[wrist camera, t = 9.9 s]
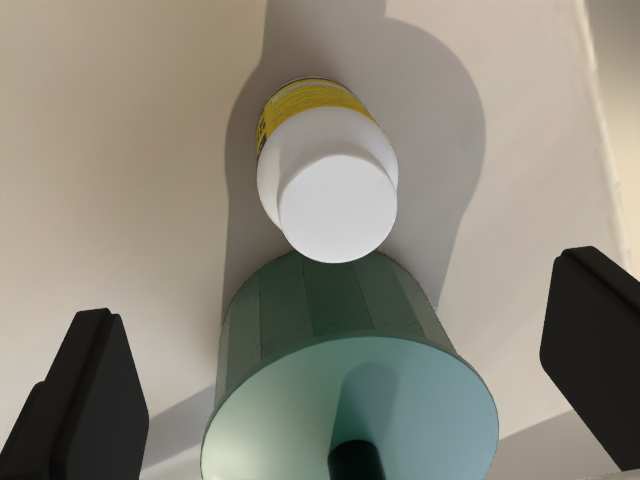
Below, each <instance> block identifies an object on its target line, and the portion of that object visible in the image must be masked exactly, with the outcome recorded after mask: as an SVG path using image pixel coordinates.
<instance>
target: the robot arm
mask: <svg viewBox="0 0 640 480" xmlns="http://www.w3.org/2000/svg"><path fill="white" fill-rule="evenodd" d="M539 356H540V362H541V365H542V367H543V369H544V370H545V372H546V373H547V374H548V376H549V377H550V378H551V380H552V381H553V382H554V384H555V385H556V386H557V387H558V389H559V390H560V391H561V393H562V394H563V395H564V397H565V398H566V399H567V401H568V402H569V403H570V404H571V406H572V407H573V408H574V410H575V411H576V412H577V414H578V415H579V416H580V418H581V419H582V420H583V421H584V423H585V424H586V425H587V427H588V428H589V429H590V431H591V432H592V433H593V435H594V436H595V437H596V438H597V440H598V441H599V442H600V443H601V445H602V446H603V447H604V449H605V450H606V452H607V453H608V454H609V455H610V457H611V458H612V459H613V461H614V462H615V463H616V465H617V466H618V467H619V468H620V469H621V471H622V472H617V473H611V474H605V475H599V476H593V477H587V478H581V479H574V480H640V282H639V281H638V280H636V279H635V278H634V277H633V276H631V275H630V274H629V273H627V272H626V271H625V270H624V269H622V268H621V267H620V266H618V265H617V264H616V263H615V262H613V261H612V260H611V259H609V258H608V257H607V256H606V255H604V254H603V253H602V252H600V251H599V250H598V249H597V248H595V247H593V246H586V247H578V248H570V249H565V250H564V251H563V252H562V253H561V255H560V256H559V257H557V258H556V259H555V260H554V264H553V270H552V277H551V283H550V289H549V296H548V302H547V308H546V315H545V321H544V327H543V334H542V340H541V346H540V354H539ZM148 429H149V414H148V409H147V406H146V402H145V399H144V395H143V392H142V388H141V385H140V381H139V378H138V374H137V371H136V367H135V364H134V360H133V357H132V353H131V350H130V346H129V343H128V339H127V336H126V333H125V329H124V326H123V322H122V319H121V316H120V315H119V314H118V313H117V314H111V312H110V310H109V309H108V308H101V309H93V310H85V311H79V312H77V313H76V315H75V317H74V319H73V321H72V323H71V325H70V327H69V329H68V331H67V334H66V336H65V338H64V340H63V342H62V344H61V346H60V349H59V351H58V353H57V355H56V357H55V359H54V361H53V364H52V366H51V368H50V370H49V372H48V374H47V376H46V379H45V381H42V382H39V383H37V384H35V386H34V387H33V389H32V390H31V392H30V394H29V396H28V398H27V400H26V402H25V404H24V406H23V408H22V410H21V413H20V415H19V417H18V419H17V421H16V423H15V425H14V427H13V429H12V431H11V433H10V435H9V437H8V439H7V441H6V443H5V445H4V447H3V449H2V451H1V453H0V480H139V476H140V471H141V466H142V460H143V455H144V450H145V445H146V440H147V434H148Z"/></svg>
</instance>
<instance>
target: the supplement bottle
mask: <svg viewBox="0 0 640 480" xmlns="http://www.w3.org/2000/svg"><path fill="white" fill-rule="evenodd" d="M256 160H257V161H256V182H257V187H258V192H259V197H260V200H261V202H262V205H263V207H264V209H265V211H266V213H267V214H268V216H269V217H270V219H271V220H272V221H273V222H274V223H275V224H276V225H277V226H278V227H279V228H280V229H281V230H282V231H283V233H284V235H285V237H286V238H287V240H288V241H289V243H290V244H291V245H292V246H293V247H294V248H295V249H296V250H297V251H299V252H300V253H302V254H303V255H305V256H307V257H309V258H311V259H313V260H317V261H320V262H326V263H343V262H348V261H352V260H355V259H358V258H361V257H363V256H365V255H367V254H368V253H370V252H371V251H373V250H374V249H375V248H377V247H378V246H379V245H380V244H381V243H382V242H383V240H384V239H385V238H386V237H387V235H388V234H389V232H390V230H391V228H392V226H393V224H394V221H395V218H396V214H397V195H396V190H397V184H398V164H397V159H396V156H395V152H394V150H393V147H392V145H391V143H390V142H389V140H388V138H387V136H386V135H385V133H384V132H383V130H382V129H381V128H380V127H379V125H378V124H377V123H376V122H375V120H374V119H373V118H372V116H371V115H370V114H369V112H368V111H367V110H366V109H365V107H364V106H363V105H362V103H361V102H360V101H359V100H358V98H357V97H356V96H355V95H354V94H353V93H352V92H351V91H350V90H349V89H348V88H346V87H345V86H343V85H342V84H340V83H338V82H336V81H334V80H332V79H329V78H324V77H319V76H308V77H301V78H297V79H294V80H292V81H290V82H287V83H285V84H284V85H282V86H281V87H279V88H278V89H277V90H275V91H274V92H273V93H272V94H271V95H270V97H269V98H268V99H267V100H266V102H265V103H264V105H263V107H262V109H261V112H260V114H259V118H258V122H257V128H256Z"/></svg>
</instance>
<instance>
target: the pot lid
mask: <svg viewBox="0 0 640 480" xmlns="http://www.w3.org/2000/svg"><path fill="white" fill-rule="evenodd" d="M498 438H499V421H498V414H497V409H496V406H495V403H494V400H493V397H492V395H491V393H490V391H489V390H488V388H487V386H486V384H485V383H484V381H483V379H482V378H481V376H480V375H479V374H478V373H477V371H476V370H475V369H474V368H473V367H472V366H471V365H470V364H469V363H468V362H467V361H466V360H464V359H463V358H462V357H461V356H460V355H458V354H457V353H455V352H453V351H452V350H450V349H449V348H447V347H445V346H443V345H441V344H439V343H436V342H434V341H432V340H430V339H427V338H424V337H420V336H417V335H413V334H410V333H404V332H398V331H392V330H377V329H362V330H346V331H341V332H335V333H329V334H324V335H320V336H317V337H313V338H310V339H306V340H303V341H301V342H298V343H296V344H293V345H291V346H288V347H286V348H283V349H282V350H280V351H278V352H276V353H274V354H272V355H270V356H269V357H267V358H265V359H263V360H262V361H261V362H259V363H258V364H256V365H255V366H253V367H252V368H251V369H249V370H248V371H247V372H246V373H244V374H243V375H242V376H241V377H240V378H239V379H238V380H237V381H236V382H234V383H233V385H232V386H231V387H230V388H229V389H228V390H227V392H226V393H225V394H224V395H223V396H222V398H221V399H220V401H219V402H218V404H217V405H216V407H215V409H214V410H213V412H212V414H211V416H210V418H209V421H208V423H207V425H206V428H205V432H204V436H203V440H202V446H201V461H200V466H201V474H202V480H483V478H484V477H485V475H486V473H487V471H488V470H489V468H490V466H491V463H492V461H493V458H494V455H495V453H496V448H497V443H498Z"/></svg>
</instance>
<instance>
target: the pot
mask: <svg viewBox="0 0 640 480" xmlns="http://www.w3.org/2000/svg"><path fill="white" fill-rule="evenodd" d="M362 329H377V330H392V331H398V332H404V333H410V334H413V335H417V336H420V337H424V338H427V339H430V340H432V341H434V342H436V343H439V344H441V345H443V346H445V347H447V348H449V349H450V350H452V351H453V352H455V353H457V352H456V350H455V349H454V347H453V345H452V343H451V341H450V339H449V338H448V336H447V334H446V332H445V330H444V328H443V327H442V325H441V323H440V321H439V319H438V317H437V316H436V314H435V312H434V310H433V308H432V306H431V305H430V303H429V301H428V299H427V297H426V295H425V294H424V292H423V290H422V288H421V286H420V284H419V283H418V282H417V281H416V280H415V279H414V278H413V277H412V276H411V275H410V274H409V273H408V272H407V271H406V270H405V269H404V268H403V267H402V266H401V265H399V264H398V263H396V262H395V261H393V260H392V259H390V258H388V257H386V256H384V255H382V254H380V253H378V252H375V251H371V252H370V253H368V254H367V255H365V256H363V257H361V258H358V259H355V260H352V261H348V262H343V263H326V262H320V261H317V260H313V259H311V258H309V257H307V256H305V255H303V254H302V253H300V252H299V251H294V252H291V253H289V254H286V255H284V256H282V257H279V258H277V259H276V260H274V261H272V262H270V263H269V264H267V265H265V266H264V267H263V268H261V269H260V270H259V271H257V272H256V273H255V274H254V275H253V276H252V277H251V278H250V279H248V280H247V281H246V282H245V283H244V285H243V286H242V287H241V289H240V290H239V291H238V292H237V294H236V295H235V297H234V299H233V300H232V302H231V304H230V306H229V308H228V311H227V313H226V316H225V320H224V325H223V329H222V333H221V336H220V342H219V354H218V366H217V378H216V390H215V401H214V409H215V407H216V405H217V404H218V402H219V401H220V399H221V398H222V396H223V395H224V394H225V393H226V392H227V390H228V389H229V388H230V387H231V386H232V385H233V383H234V382H236V381H237V380H238V379H239V378H240V377H241V376H242V375H243V374H244V373H246V372H247V371H248V370H249V369H251V368H252V367H253V366H255V365H256V364H258V363H259V362H261V361H262V360H263V359H265V358H267V357H269V356H270V355H272V354H274V353H276V352H278V351H280V350H282V349H283V348H286V347H288V346H291V345H293V344H296V343H298V342H301V341H303V340H306V339H310V338H313V337H317V336H320V335H324V334H329V333H335V332H341V331H346V330H362Z"/></svg>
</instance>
